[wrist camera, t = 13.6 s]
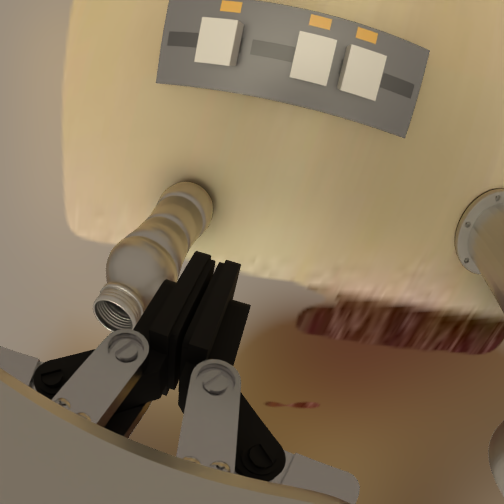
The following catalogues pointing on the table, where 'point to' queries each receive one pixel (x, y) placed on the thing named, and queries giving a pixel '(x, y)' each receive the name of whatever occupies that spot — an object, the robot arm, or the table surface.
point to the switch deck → (281, 58)
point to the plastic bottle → (152, 255)
